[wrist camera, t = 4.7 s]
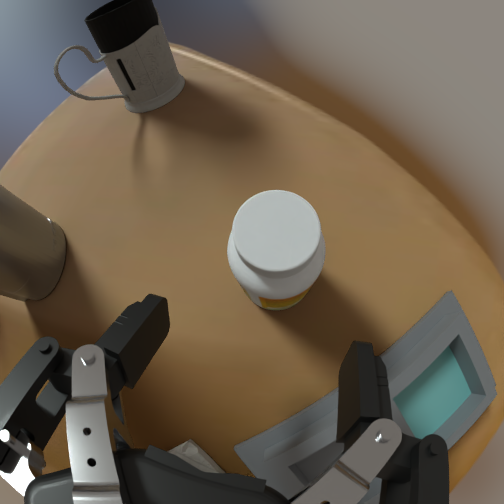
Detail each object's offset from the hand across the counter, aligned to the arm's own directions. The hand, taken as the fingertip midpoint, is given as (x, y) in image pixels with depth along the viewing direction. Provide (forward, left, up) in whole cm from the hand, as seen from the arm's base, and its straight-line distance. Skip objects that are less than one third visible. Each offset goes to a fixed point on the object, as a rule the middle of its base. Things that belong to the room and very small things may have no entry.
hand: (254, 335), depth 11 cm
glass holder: (+1, +31, -10) cm, 33 cm away
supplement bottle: (+3, +3, -10) cm, 11 cm away
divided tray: (+4, -13, -9) cm, 16 cm away
